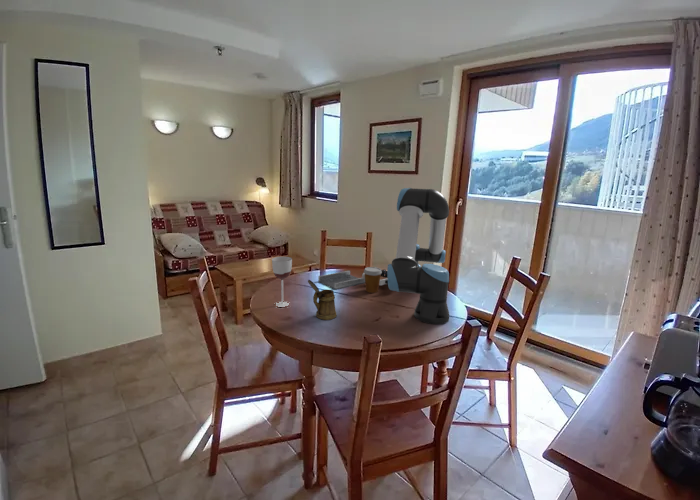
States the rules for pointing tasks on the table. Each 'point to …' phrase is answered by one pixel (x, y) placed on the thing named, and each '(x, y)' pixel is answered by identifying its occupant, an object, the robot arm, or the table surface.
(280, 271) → the wineglass
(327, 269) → the table surface
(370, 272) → the disposable coffee cup
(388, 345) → the table surface
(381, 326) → the table surface
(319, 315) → the wooden mug
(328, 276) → the tray
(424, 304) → the robot arm
